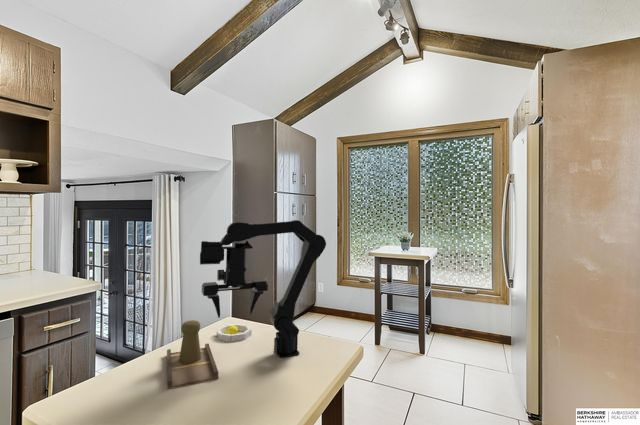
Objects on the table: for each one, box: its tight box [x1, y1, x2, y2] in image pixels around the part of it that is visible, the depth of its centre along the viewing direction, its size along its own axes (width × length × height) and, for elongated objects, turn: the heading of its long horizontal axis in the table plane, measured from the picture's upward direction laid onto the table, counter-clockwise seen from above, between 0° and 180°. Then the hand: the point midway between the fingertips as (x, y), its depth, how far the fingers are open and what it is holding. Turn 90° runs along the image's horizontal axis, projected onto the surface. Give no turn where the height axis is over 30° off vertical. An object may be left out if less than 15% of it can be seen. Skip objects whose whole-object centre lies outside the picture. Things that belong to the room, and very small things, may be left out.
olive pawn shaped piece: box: [179, 319, 201, 364], centre depth 92 cm, size 6×6×11 cm
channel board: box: [166, 343, 219, 390], centre depth 89 cm, size 12×21×2 cm, turn 26°
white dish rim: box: [216, 323, 253, 343], centre depth 114 cm, size 12×12×2 cm
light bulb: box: [224, 326, 238, 334], centre depth 113 cm, size 3×6×4 cm, turn 118°
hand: (234, 315), depth 94 cm, fingers open, 9 cm apart
